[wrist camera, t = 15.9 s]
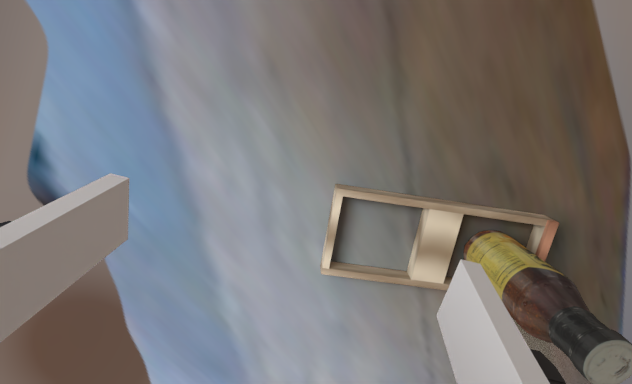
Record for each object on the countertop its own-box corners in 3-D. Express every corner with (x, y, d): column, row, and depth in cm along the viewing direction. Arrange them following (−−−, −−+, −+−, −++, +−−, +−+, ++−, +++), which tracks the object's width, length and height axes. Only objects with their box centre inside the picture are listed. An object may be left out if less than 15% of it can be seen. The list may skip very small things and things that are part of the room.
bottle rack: (335, 183, 42) (337, 189, 40) (544, 215, 44) (559, 222, 42) (320, 265, 45) (321, 276, 43) (517, 291, 47) (529, 303, 45)
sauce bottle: (516, 260, 46) (666, 387, 27) (468, 280, 46) (582, 417, 27) (501, 216, 44) (650, 318, 25) (452, 237, 45) (561, 351, 26)
